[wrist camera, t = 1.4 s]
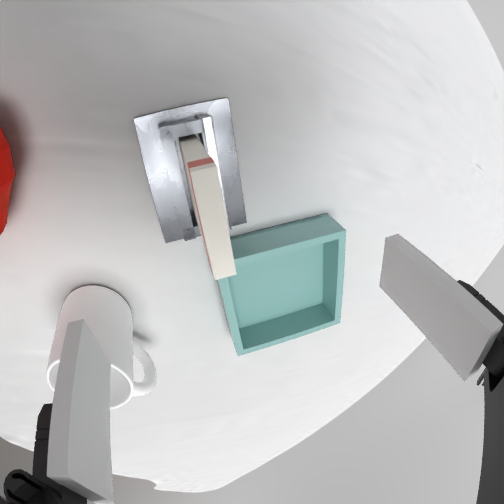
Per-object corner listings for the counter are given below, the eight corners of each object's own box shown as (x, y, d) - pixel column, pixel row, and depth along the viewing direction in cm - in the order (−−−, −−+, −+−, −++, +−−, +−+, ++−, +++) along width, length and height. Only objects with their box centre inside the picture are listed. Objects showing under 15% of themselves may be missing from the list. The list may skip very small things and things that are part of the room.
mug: (172, 323, 35) (184, 396, 27) (133, 360, 37) (136, 429, 28) (85, 268, 29) (67, 341, 20) (51, 315, 30) (34, 387, 22)
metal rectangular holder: (134, 118, 23) (130, 122, 21) (226, 97, 25) (236, 99, 22) (165, 240, 30) (167, 258, 27) (245, 220, 31) (254, 235, 28)
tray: (208, 242, 31) (215, 264, 28) (327, 213, 34) (345, 230, 30) (229, 332, 38) (237, 355, 35) (326, 302, 41) (339, 322, 37)
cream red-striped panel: (177, 136, 25) (190, 172, 16) (194, 133, 25) (217, 165, 16) (193, 211, 29) (214, 280, 20) (208, 207, 29) (237, 274, 20)
